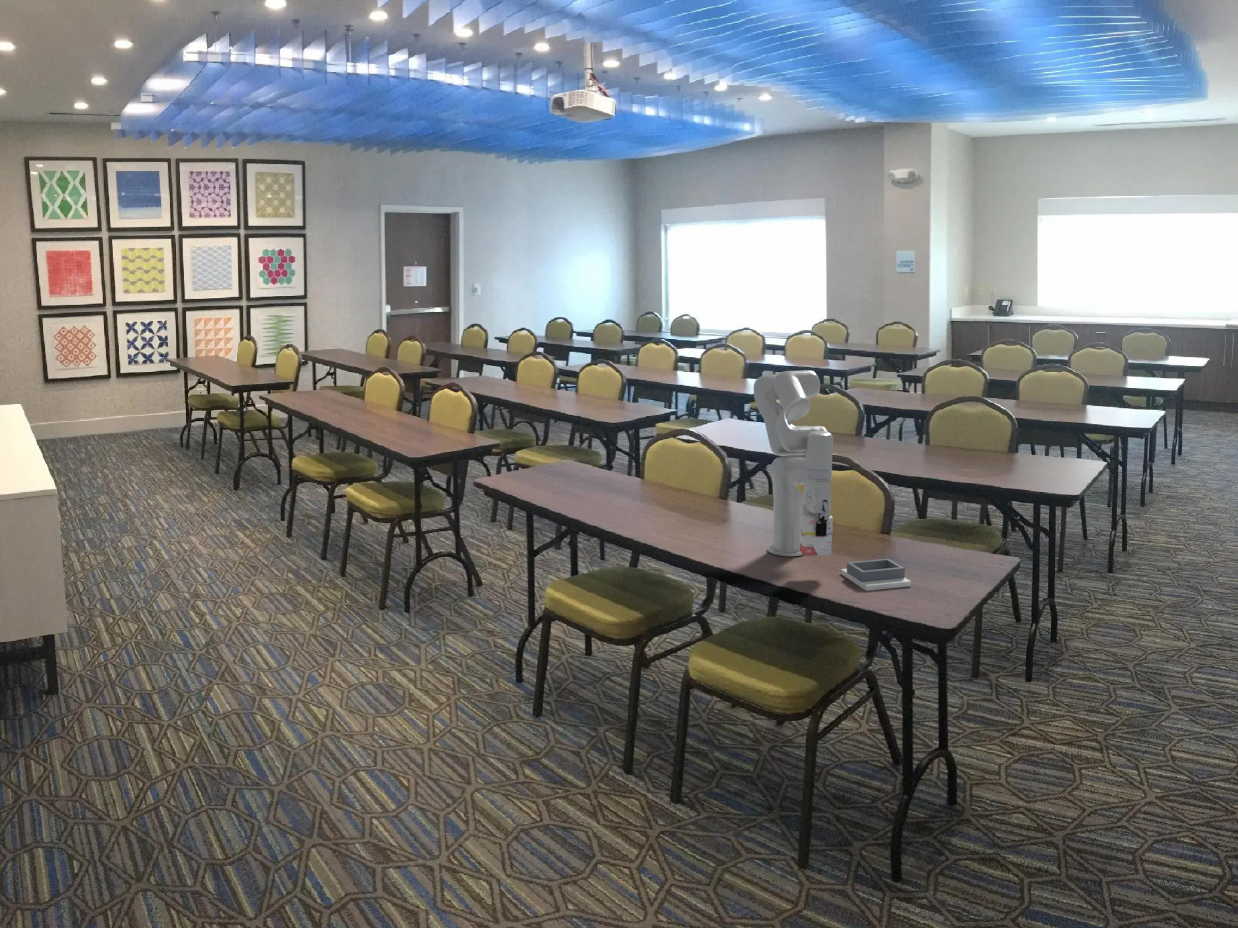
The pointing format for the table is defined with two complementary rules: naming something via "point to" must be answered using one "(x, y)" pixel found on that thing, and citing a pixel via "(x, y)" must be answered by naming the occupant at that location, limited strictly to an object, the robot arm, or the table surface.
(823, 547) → the ink cartridge box
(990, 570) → the table surface
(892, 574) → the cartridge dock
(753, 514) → the table surface
